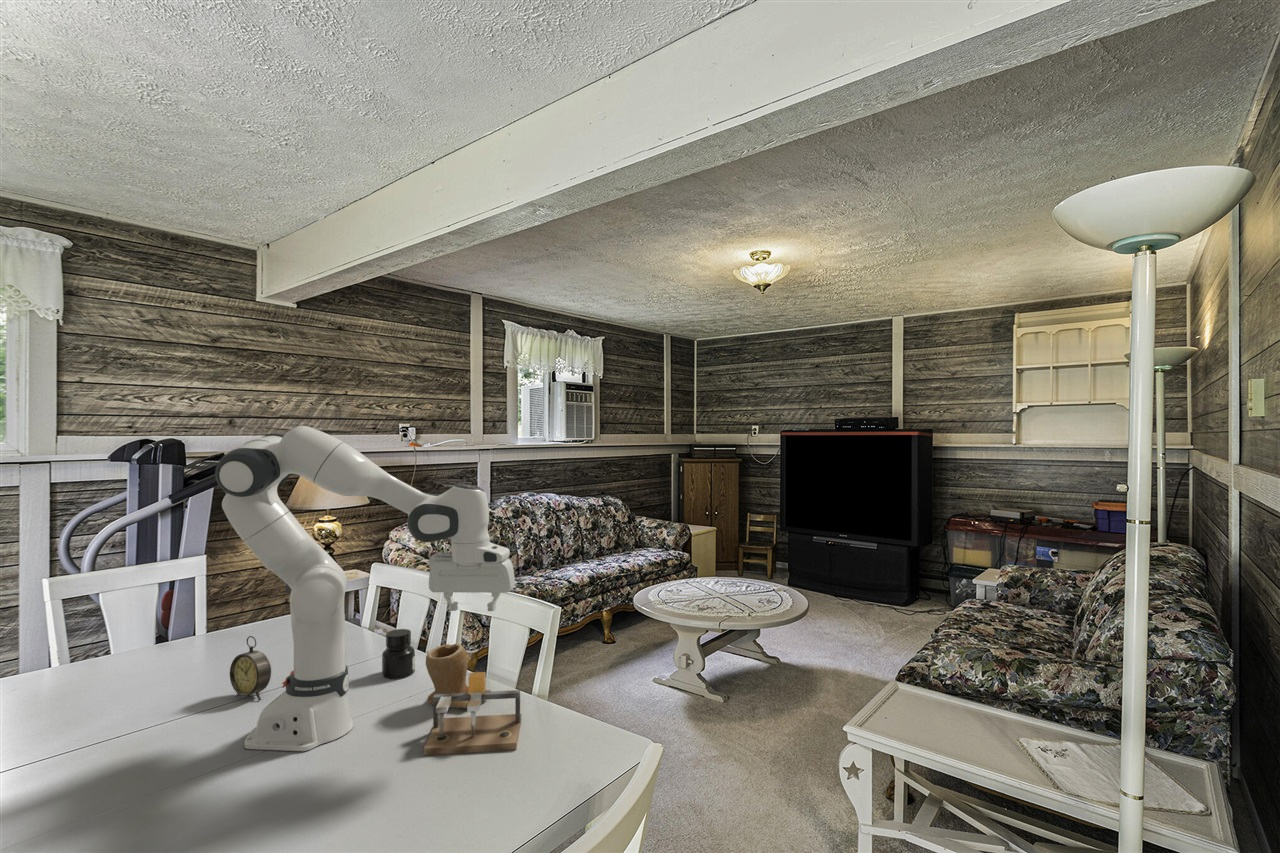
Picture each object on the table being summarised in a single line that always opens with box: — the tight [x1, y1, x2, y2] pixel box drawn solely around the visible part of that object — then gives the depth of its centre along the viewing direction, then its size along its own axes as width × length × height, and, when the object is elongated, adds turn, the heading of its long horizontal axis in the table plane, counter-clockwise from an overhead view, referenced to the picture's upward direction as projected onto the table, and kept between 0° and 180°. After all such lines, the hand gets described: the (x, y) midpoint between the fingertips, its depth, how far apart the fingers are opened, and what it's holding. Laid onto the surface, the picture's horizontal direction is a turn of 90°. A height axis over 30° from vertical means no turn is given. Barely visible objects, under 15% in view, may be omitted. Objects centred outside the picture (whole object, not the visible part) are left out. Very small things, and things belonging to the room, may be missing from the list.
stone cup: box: [425, 643, 492, 709], centre depth 160 cm, size 15×12×15 cm
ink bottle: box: [381, 628, 416, 680], centre depth 180 cm, size 10×9×12 cm
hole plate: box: [423, 689, 522, 756], centre depth 143 cm, size 20×14×9 cm
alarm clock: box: [229, 635, 272, 701], centre depth 165 cm, size 11×5×16 cm, turn 68°
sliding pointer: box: [466, 671, 487, 736], centre depth 144 cm, size 4×8×11 cm, turn 6°
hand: (472, 610), depth 146 cm, fingers open, 8 cm apart
